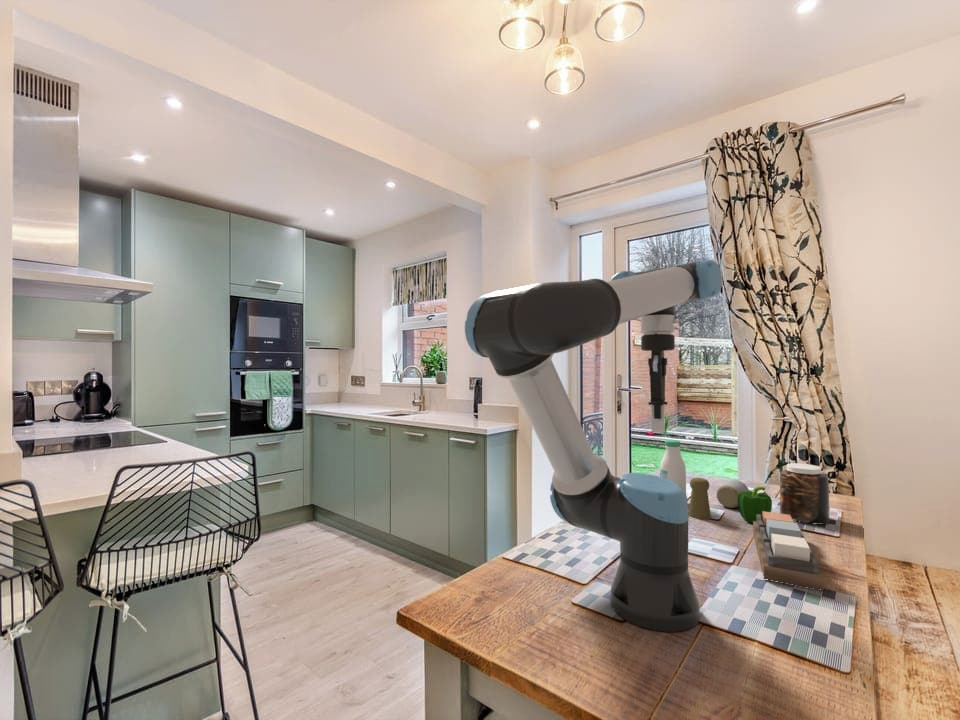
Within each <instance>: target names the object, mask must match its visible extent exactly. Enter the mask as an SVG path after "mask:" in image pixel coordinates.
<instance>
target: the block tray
mask: <svg viewBox="0 0 960 720" xmlns="http://www.w3.org/2000/svg"><path fill="white" fill-rule="evenodd" d="M792 520H793V522H794V523H797V525H798V527H799V529H800V530H801V528H800V526H799V524H798V522H796V520H795V519H792ZM752 533H753V537H754V543H755V546H756V550H757V556H758V559H759V564H760V568H761V572H762V576H764V577H763V580H764V579H768V580H773V581H778V582H783V583H788V584H793V585H797V586H796V587H798V586H801V587H800V588H803V587H808V588H807V589H809V588H814V589H821V590H824V591H825V576H824V573H823V572H822V569H821V568H820V566H819V563H818V560H817V559H816V557H815V555H814V553H813V551H812V550H811V548H810V561H803V560H797V559H791V558H785V557H779V556H774V554H773V551H772V548H771V539H770V538H768V535H767V531H766V524H763V522H762V515H759V514H757V521H753V523H752ZM801 538H805V535H804V534H803V532H801ZM805 540H806V538H805ZM806 542H807V544H808V546H809V543H808V541H807V540H806ZM809 547H810V546H809ZM793 585H792V586H793ZM814 589H813V590H814Z"/></svg>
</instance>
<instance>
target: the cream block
mask: <svg viewBox="0 0 960 720" xmlns="http://www.w3.org/2000/svg"><path fill="white" fill-rule="evenodd" d="M805 539H806V537H804V538H799V537H792V536H786V535H779V534H772V533H771V548H772V551H773V554H774V556H779V557H785V558H791V559H797V560H803V561H810V549H811V548H810V546H808V545H809V543H808V541H807V540H805ZM806 541H807V542H806ZM807 543H808V544H807Z"/></svg>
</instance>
